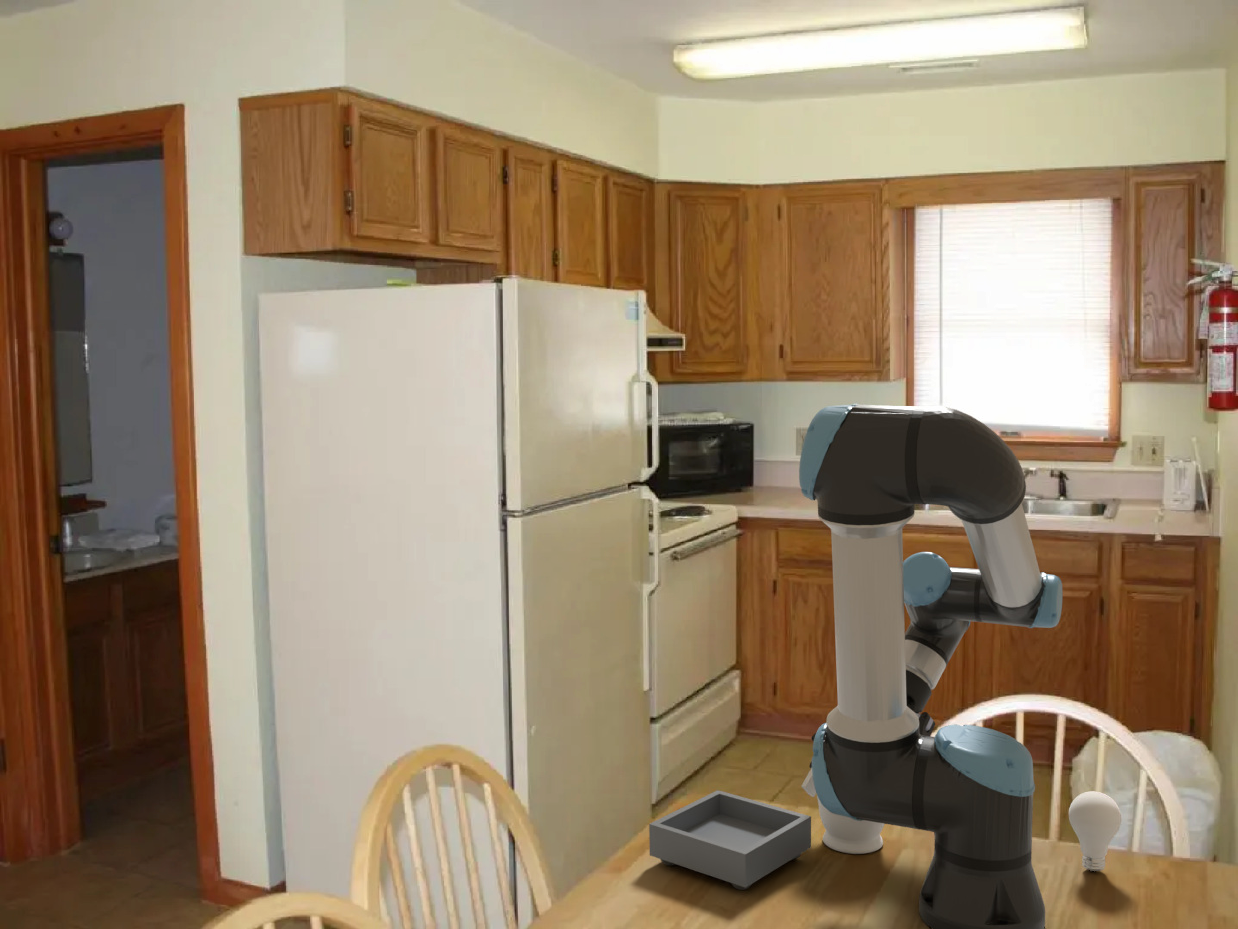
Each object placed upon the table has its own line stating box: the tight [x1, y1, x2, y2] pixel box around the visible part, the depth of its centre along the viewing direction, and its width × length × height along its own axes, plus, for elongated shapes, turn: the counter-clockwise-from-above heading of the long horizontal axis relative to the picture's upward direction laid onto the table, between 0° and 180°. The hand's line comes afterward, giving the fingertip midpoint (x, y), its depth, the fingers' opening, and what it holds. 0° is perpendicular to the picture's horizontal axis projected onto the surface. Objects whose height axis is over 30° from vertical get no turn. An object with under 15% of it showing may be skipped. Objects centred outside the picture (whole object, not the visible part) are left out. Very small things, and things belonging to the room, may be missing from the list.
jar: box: [815, 793, 885, 855], centre depth 180 cm, size 11×10×15 cm
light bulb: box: [1068, 790, 1122, 873], centre depth 170 cm, size 7×7×11 cm
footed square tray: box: [648, 789, 812, 891], centre depth 174 cm, size 16×16×6 cm
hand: (841, 804), depth 178 cm, fingers open, 12 cm apart
